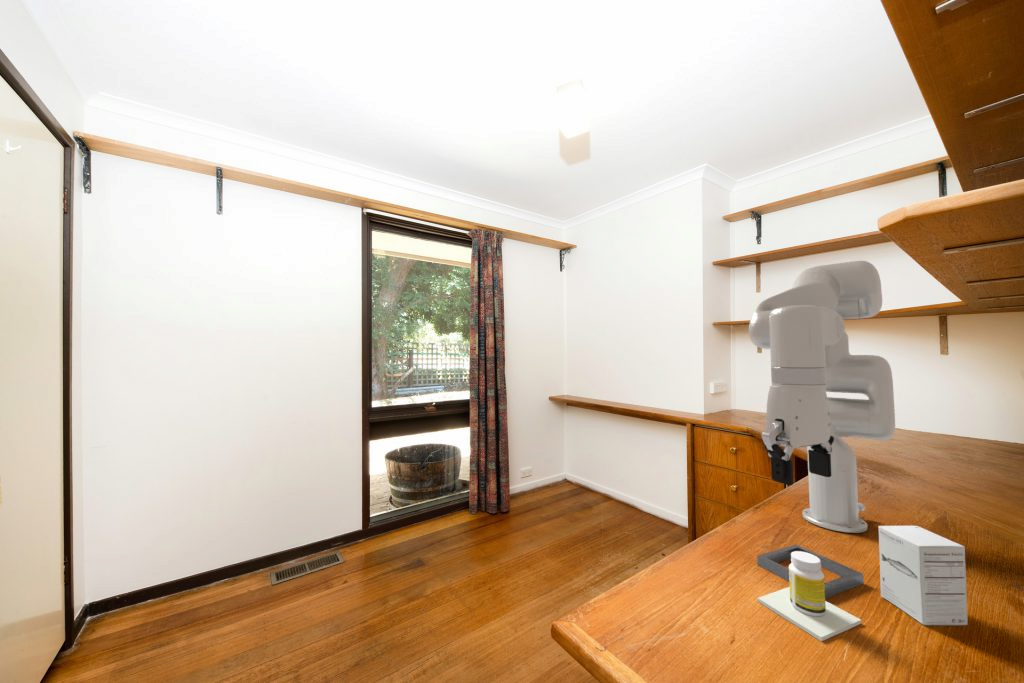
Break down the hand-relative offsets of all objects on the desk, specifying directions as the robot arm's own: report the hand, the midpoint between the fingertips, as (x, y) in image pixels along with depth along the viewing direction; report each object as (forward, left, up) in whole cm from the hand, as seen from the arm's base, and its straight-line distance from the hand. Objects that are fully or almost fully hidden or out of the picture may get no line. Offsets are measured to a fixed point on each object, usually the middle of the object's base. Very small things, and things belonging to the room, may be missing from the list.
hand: (801, 478), depth 64 cm
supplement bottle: (0, 0, -22) cm, 22 cm away
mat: (0, 0, -22) cm, 22 cm away
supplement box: (-18, +7, -22) cm, 29 cm away
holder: (-12, -7, -22) cm, 26 cm away
